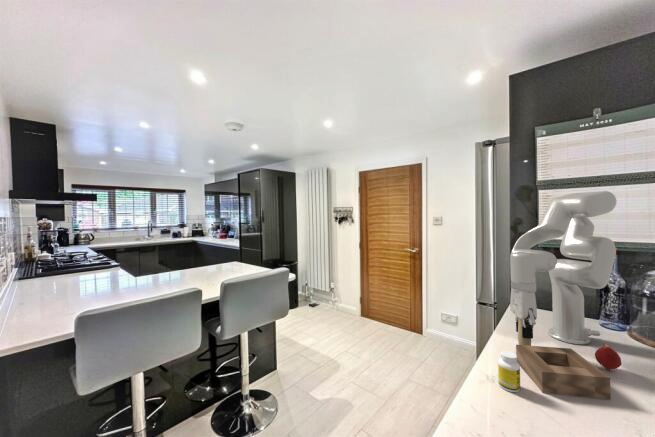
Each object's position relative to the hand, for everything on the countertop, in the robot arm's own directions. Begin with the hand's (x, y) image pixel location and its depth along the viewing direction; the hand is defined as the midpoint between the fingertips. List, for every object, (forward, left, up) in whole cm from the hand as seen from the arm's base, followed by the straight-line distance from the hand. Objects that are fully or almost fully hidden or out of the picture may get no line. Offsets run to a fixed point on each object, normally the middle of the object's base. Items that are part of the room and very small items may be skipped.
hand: (524, 334), depth 97 cm
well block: (-2, +16, -6) cm, 17 cm away
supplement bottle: (+14, +23, -6) cm, 28 cm away
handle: (0, 0, -6) cm, 6 cm away
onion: (-20, +8, -6) cm, 22 cm away
